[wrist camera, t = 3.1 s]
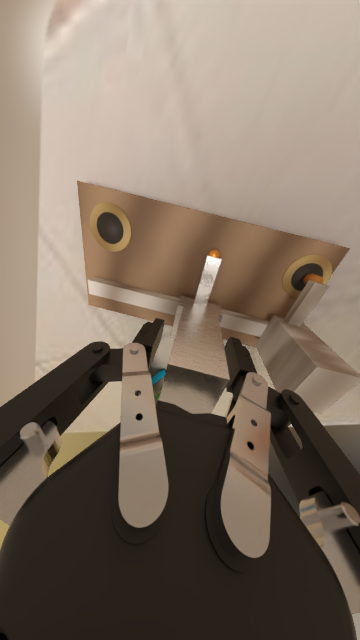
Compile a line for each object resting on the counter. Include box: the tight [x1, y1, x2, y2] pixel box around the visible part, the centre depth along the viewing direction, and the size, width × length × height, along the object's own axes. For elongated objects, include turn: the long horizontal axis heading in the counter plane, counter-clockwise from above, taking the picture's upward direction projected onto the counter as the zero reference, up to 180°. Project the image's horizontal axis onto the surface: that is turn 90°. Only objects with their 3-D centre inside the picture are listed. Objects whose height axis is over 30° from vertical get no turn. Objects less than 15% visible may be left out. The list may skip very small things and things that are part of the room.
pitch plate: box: [77, 181, 360, 414], centre depth 13 cm, size 24×12×10 cm, turn 78°
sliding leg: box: [159, 249, 230, 414], centre depth 12 cm, size 4×8×10 cm, turn 168°
